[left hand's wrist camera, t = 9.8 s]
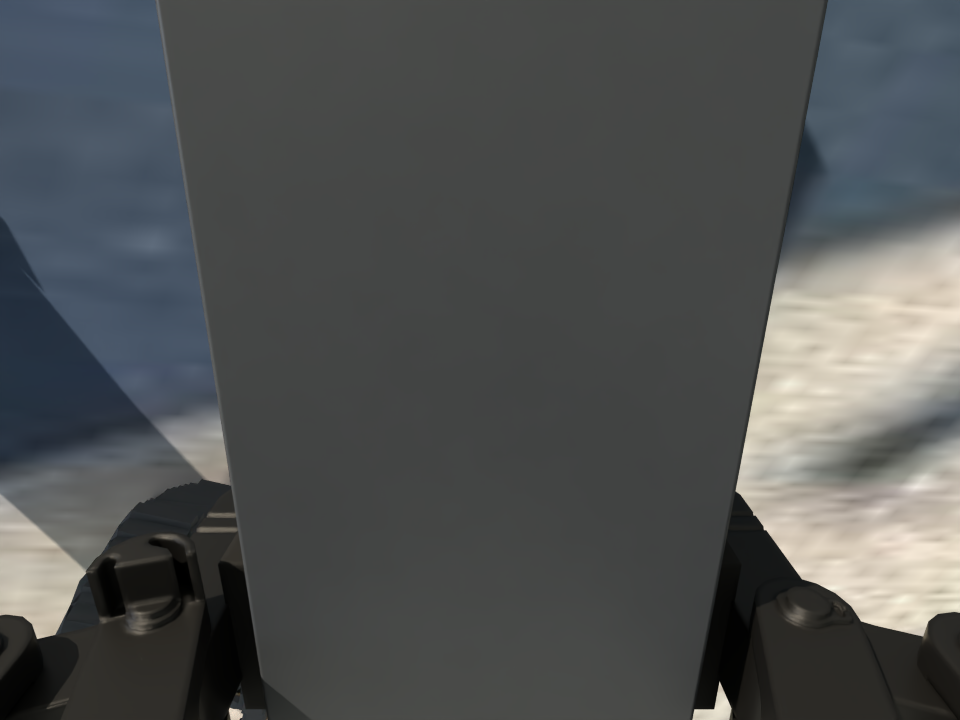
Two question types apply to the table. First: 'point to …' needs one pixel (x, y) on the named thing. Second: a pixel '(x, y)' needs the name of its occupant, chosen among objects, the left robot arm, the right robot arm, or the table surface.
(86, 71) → the table surface
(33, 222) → the table surface
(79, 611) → the toy
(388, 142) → the beam
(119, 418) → the table surface
